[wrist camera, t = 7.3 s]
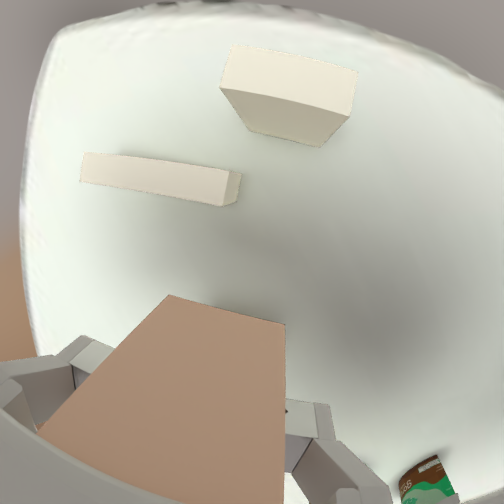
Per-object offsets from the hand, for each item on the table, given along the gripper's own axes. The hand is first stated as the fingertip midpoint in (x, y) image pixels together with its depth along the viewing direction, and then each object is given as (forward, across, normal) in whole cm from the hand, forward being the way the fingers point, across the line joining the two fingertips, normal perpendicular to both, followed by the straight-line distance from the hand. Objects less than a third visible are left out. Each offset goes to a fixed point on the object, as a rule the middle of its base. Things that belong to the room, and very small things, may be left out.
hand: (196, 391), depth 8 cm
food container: (+14, -28, +24) cm, 40 cm away
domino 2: (+4, 0, 0) cm, 4 cm away
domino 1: (+12, +2, -6) cm, 13 cm away
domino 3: (+14, 0, -11) cm, 18 cm away
